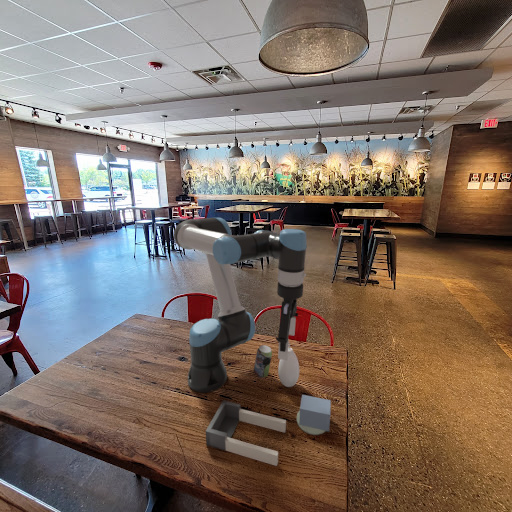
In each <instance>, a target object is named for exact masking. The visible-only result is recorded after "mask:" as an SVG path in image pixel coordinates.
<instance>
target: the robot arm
mask: <svg viewBox="0 0 512 512" xmlns="http://www.w3.org/2000/svg"><path fill="white" fill-rule="evenodd" d="M173 239H174V241H175V244H176V245H177V246H178V247H180V248H182V249H184V250H197V251H199V252H202V253H203V254H204V255H206V259H207V262H208V266H209V270H210V274H211V279H212V282H213V286H214V291H215V295H216V299H217V302H218V306H219V307H218V308H219V313H218V314H217V318H218V319H216V318H204V319H200V320H199V321H198V320H197V322H195V323H194V324H193V325H191V328H190V329H189V333H188V334H189V339H188V341H189V342H188V343H189V351H190V352H189V353H190V362H191V363H190V365H189V366H190V367H189V369H188V373H187V384H188V387H189V388H190V389H191V390H193V391H194V392H197V393H211V392H214V391H217V390H218V389H220V388H222V387H223V386H224V385H225V384H226V383H227V379H228V372H227V368H226V366H225V364H224V361H223V359H222V352H225V351H227V350H230V349H233V348H235V347H237V346H240V345H244V344H246V343H247V342H249V341H251V340H252V339H253V338H254V336H255V333H256V321H255V319H254V317H253V316H252V314H251V313H250V312H248V311H246V308H245V307H244V306H242V305H241V302H240V298H239V294H238V290H237V287H236V282H235V279H234V275H233V272H232V267H231V265H233V264H234V265H235V264H237V263H242V262H247V261H251V260H257V259H262V258H267V257H269V258H273V259H275V260H278V268H277V281H278V282H277V295H278V296H279V297H280V298H282V299H283V301H282V302H281V307H280V318H279V326H278V334H277V337H276V338H275V339H276V341H277V343H278V348H277V349H278V353H277V360H280V359H282V360H288V348H289V343H290V339H289V336H295V332H296V321H297V320H296V319H297V318H296V317H299V313H298V312H297V311H298V309H297V308H298V304H297V303H298V299H300V298H302V297H303V294H304V284H303V283H304V281H305V279H304V278H305V277H306V276H307V273H306V272H305V264H306V263H305V262H306V255H307V254H306V251H307V247H308V246H307V233H306V231H304V230H301V229H299V228H298V229H296V228H286V229H285V228H284V229H282V230H281V231H280V232H279V233H278V232H277V233H276V232H273V231H270V230H268V229H267V230H263V229H259V230H257V231H255V232H254V233H249V234H240V235H233V234H232V230H231V227H230V224H229V223H228V221H226V220H225V219H224V218H222V217H213V216H212V217H208V218H207V217H205V218H195V219H193V218H191V219H186V220H183V221H182V222H180V223H178V224H177V226H175V228H174V230H173Z"/></svg>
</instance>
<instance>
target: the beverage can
mask: <svg viewBox="0 0 512 512" xmlns="http://www.w3.org/2000/svg"><path fill="white" fill-rule="evenodd" d="M255 355H256V356H255V360H254V366H253V374H254V375H255V376H257V377H258V378H266V377H268V376H269V371H270V366H271V362H272V357H273V356H272V355H273V351H272V348H271V347H270V346H268V345H266V344H262V345H260V346H259V347H258V348H257V350H256V354H255Z"/></svg>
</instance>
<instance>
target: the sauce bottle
mask: <svg viewBox="0 0 512 512" xmlns="http://www.w3.org/2000/svg"><path fill="white" fill-rule="evenodd" d="M277 375H278V379H279V381H280V382H281V384H282V385H283V386H285V387H287V388H292V387H294V386H295V385H296V384H297V382H298V380H299V377H300V364H299V359H298V356H297V355H296V353H295V352H294V350H293V348H292V347H291V344H290V342H289V345H288V360H282V359H279V362H278V368H277Z"/></svg>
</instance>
